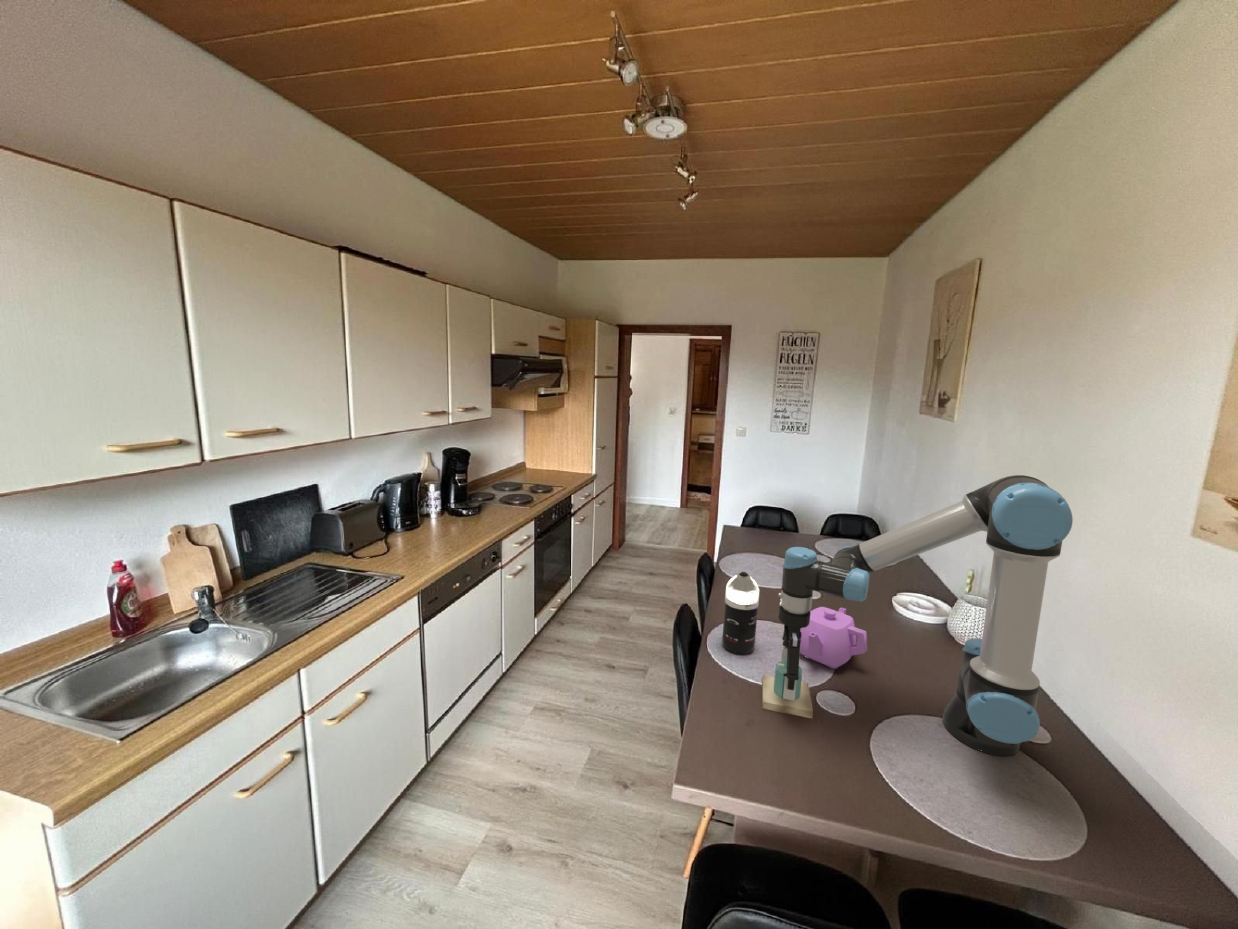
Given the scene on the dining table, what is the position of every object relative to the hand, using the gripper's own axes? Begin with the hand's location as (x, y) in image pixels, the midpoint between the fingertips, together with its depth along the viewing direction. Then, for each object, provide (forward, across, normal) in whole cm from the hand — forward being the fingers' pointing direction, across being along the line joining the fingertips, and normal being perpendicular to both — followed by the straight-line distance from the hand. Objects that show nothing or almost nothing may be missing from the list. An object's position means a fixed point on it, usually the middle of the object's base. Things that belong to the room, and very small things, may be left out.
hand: (787, 683), depth 128 cm
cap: (+2, 0, 0) cm, 2 cm away
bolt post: (+4, 0, 0) cm, 4 cm away
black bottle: (+5, -22, -13) cm, 26 cm away
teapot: (+5, -25, +13) cm, 29 cm away
